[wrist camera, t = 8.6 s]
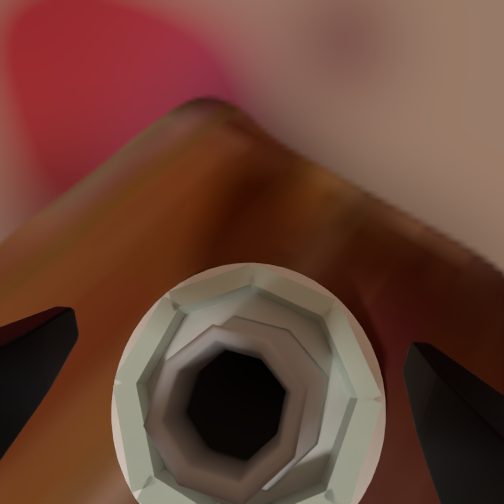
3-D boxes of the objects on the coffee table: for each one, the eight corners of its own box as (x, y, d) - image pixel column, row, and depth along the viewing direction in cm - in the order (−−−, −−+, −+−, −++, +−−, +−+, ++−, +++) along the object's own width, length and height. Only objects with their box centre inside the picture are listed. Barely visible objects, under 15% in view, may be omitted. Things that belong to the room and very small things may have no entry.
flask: (143, 419, 16) (-32, 465, 7) (230, 293, 18) (190, 192, 9) (274, 525, 14) (289, 789, 5) (353, 371, 16) (469, 351, 7)
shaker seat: (415, 327, 17) (433, 320, 16) (322, 627, 13) (331, 669, 11) (197, 232, 20) (190, 215, 18) (63, 459, 16) (34, 469, 14)
